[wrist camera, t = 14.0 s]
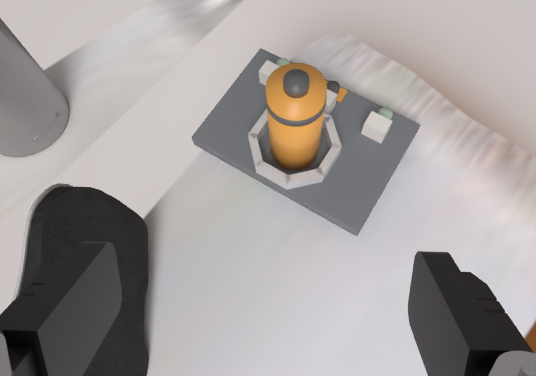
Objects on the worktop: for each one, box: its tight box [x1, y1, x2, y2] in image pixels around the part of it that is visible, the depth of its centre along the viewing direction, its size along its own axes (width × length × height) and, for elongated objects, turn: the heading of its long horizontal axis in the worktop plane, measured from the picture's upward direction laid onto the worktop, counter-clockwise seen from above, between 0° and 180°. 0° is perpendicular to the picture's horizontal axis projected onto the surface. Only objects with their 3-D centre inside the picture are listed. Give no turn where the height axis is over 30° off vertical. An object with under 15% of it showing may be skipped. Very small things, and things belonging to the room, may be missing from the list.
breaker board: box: [192, 49, 420, 236], centre depth 44 cm, size 19×13×4 cm
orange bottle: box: [265, 63, 327, 171], centre depth 39 cm, size 5×5×11 cm
